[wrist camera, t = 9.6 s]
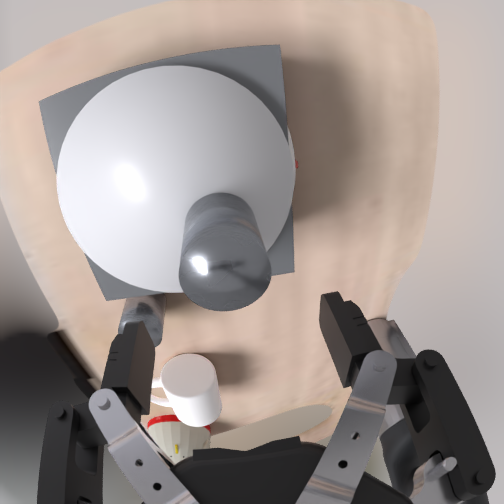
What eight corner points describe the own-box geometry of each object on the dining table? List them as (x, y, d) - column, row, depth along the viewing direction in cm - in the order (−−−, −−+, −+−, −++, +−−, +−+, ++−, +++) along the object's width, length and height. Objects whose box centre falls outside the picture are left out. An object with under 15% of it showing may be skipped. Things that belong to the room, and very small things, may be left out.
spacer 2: (251, 187, 20) (268, 228, 15) (258, 249, 22) (274, 303, 17) (178, 199, 19) (168, 244, 14) (192, 260, 22) (190, 316, 17)
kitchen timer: (209, 414, 53) (215, 481, 40) (210, 438, 60) (215, 493, 47) (142, 413, 50) (139, 478, 38) (153, 436, 58) (153, 491, 45)
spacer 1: (159, 281, 34) (153, 316, 29) (170, 311, 36) (167, 347, 31) (121, 286, 33) (111, 321, 28) (135, 316, 36) (128, 351, 31)
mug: (214, 350, 42) (217, 396, 35) (220, 385, 47) (224, 425, 40) (136, 354, 40) (130, 398, 34) (152, 388, 46) (150, 427, 39)
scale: (269, 55, 22) (296, 42, 15) (283, 227, 32) (307, 277, 24) (80, 93, 21) (31, 103, 14) (124, 253, 31) (103, 308, 23)
